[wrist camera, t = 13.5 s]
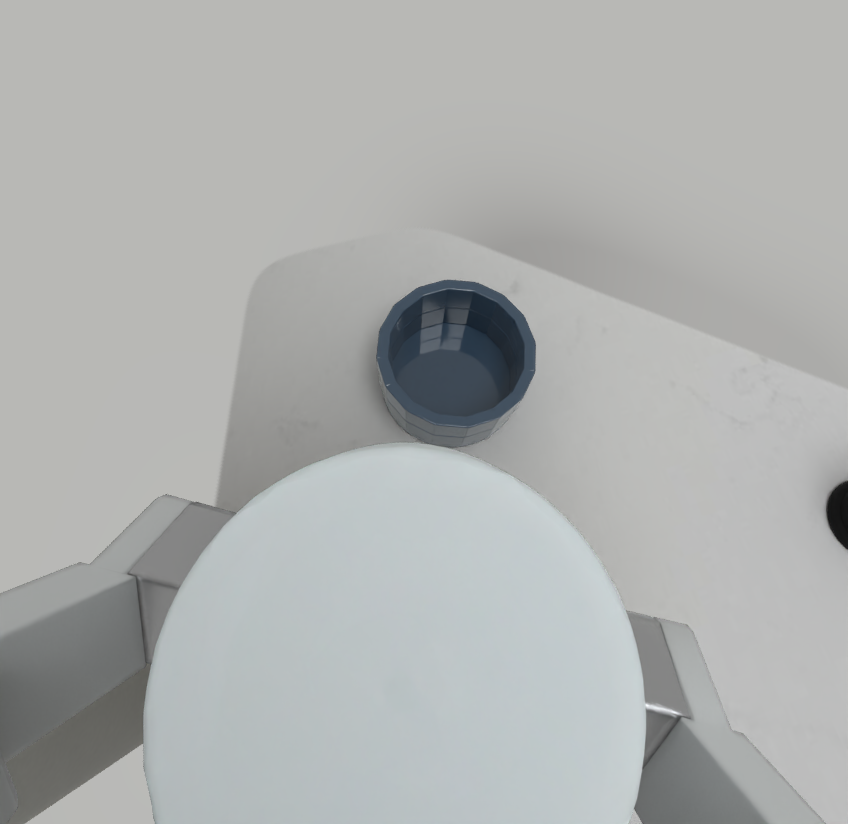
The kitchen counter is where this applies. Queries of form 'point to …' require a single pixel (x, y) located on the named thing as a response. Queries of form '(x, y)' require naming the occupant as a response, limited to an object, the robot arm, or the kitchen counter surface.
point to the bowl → (454, 362)
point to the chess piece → (839, 513)
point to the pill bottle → (396, 657)
